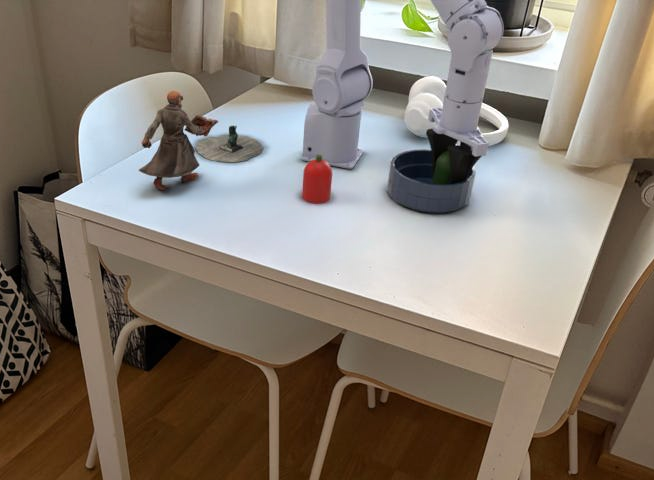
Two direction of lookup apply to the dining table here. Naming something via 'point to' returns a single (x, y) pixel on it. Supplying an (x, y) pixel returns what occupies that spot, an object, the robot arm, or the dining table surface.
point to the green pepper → (442, 169)
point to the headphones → (431, 96)
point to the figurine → (174, 142)
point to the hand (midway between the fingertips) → (447, 180)
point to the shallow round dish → (425, 184)
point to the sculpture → (229, 147)
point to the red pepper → (317, 181)
